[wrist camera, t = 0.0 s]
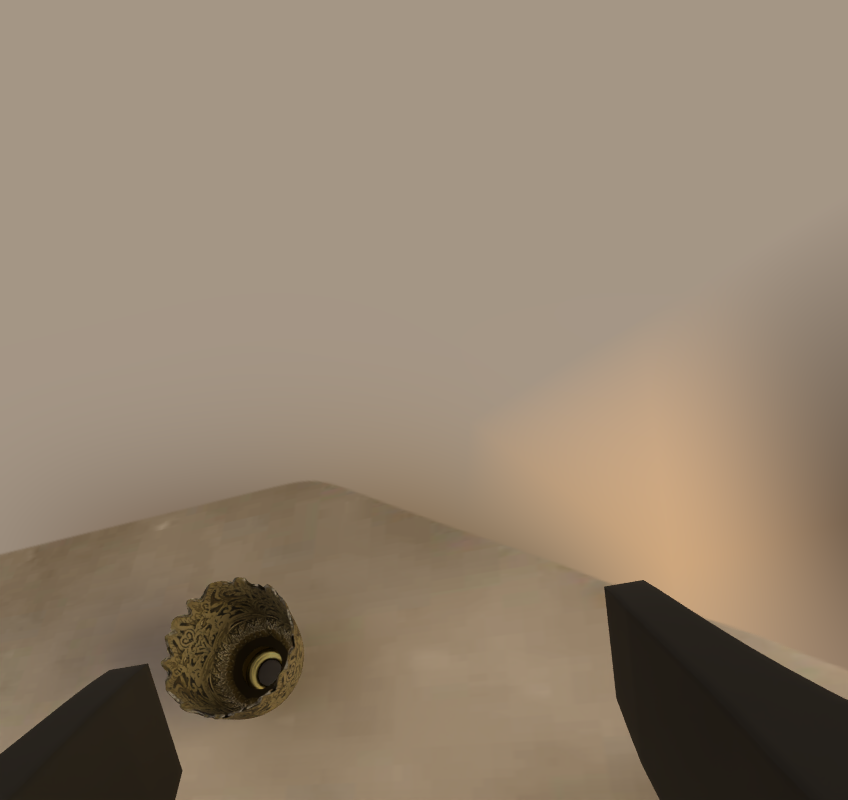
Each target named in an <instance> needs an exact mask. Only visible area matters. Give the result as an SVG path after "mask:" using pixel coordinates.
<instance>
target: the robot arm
mask: <svg viewBox="0 0 848 800" xmlns="http://www.w3.org/2000/svg"><path fill="white" fill-rule="evenodd" d="M604 589H605V598H606V607H607V616H608V625H609V634H610V644H611V653H612V662H613V671H614V680H615V689H616V698H617V701H618V704H619V706H620V709H621V712H622V714H623V717H624V720H625V722H626V725H627V728H628V730H629V733H630V736H631V738H632V741H633V743H634V746H635V748H636V751H637V753H638V756H639V759H640V761H641V764H642V766H643V768H644V770H645V772H646V774H647V776H648V778H649V779H650V781H651V783H652V785H653V787H654V789H655V791H656V793H657V795H658V797H659V799H660V800H848V700H846V699H844V698H842V697H840V696H838V695H836V694H834V693H832V692H830V691H829V690H827V689H825V688H823V687H821V686H819V685H817V684H816V683H814V682H812V681H810V680H808V679H806V678H804V677H802V676H801V675H799V674H797V673H795V672H793V671H791V670H789V669H788V668H786V667H784V666H782V665H780V664H779V663H777V662H775V661H773V660H772V659H770V658H768V657H766V656H765V655H763V654H761V653H759V652H758V651H756V650H754V649H753V648H751V647H749V646H748V645H746V644H744V643H742V642H741V641H739V640H738V639H736V638H734V637H733V636H731V635H729V634H728V633H726V632H724V631H723V630H721V629H720V628H718V627H716V626H715V625H713V624H712V623H710V622H708V621H707V620H705V619H704V618H702V617H701V616H699V615H697V614H696V613H694V612H693V611H691V610H690V609H688V608H687V607H685V606H683V605H682V604H680V603H679V602H677V601H676V600H674V599H673V598H671V597H670V596H668V595H666V594H665V593H663V592H662V591H660V590H659V589H657V588H656V587H654V586H652V585H651V584H649V583H647V582H646V581H644V580H642V581H635V582H630V583H624V584H617V585H611V586H605V587H604ZM181 774H182V768H181V765H180V762H179V759H178V756H177V753H176V749H175V746H174V743H173V740H172V737H171V734H170V731H169V728H168V725H167V721H166V718H165V715H164V712H163V709H162V706H161V703H160V700H159V696H158V693H157V690H156V687H155V684H154V681H153V678H152V675H151V672H150V668H149V665H148V664H143V665H137V666H131V667H125V668H119V669H113V670H109V671H108V672H106V673H105V674H103V675H102V676H100V677H99V678H97V679H96V680H94V681H93V682H92V683H90V684H89V685H87V686H86V687H85V688H83V689H82V690H81V691H79V692H78V693H77V694H75V695H74V696H73V697H72V698H70V699H69V700H68V701H66V702H65V703H64V704H63V705H61V706H60V707H59V708H58V709H56V710H55V711H54V712H52V713H51V714H50V715H49V716H47V717H46V718H45V719H44V720H42V721H41V722H40V723H39V724H37V725H36V726H35V727H34V728H32V729H31V730H30V731H29V732H27V733H26V734H25V735H24V736H22V737H21V738H20V739H19V740H17V741H16V742H15V743H14V744H12V745H11V746H10V747H9V748H7V749H6V750H5V751H4V752H2V753H1V754H0V800H175V798H176V794H177V790H178V786H179V782H180V778H181Z"/></svg>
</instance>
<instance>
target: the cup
mask: <svg viewBox="0 0 848 800" xmlns="http://www.w3.org/2000/svg"><path fill="white" fill-rule="evenodd" d="M186 605H187V609H189V610H188V615H186V614H184V615H179V616H177V617H176V618H175V619H174V620H173V621H172V623H171V628H170V629H171V630H172V632H170V634H168V635H166V636H165V641H166V645H167V652H168V653H169V654H170V656H169V657H167V658H165V659H164V660H163V661H162V662H161V665H162V667H163V668H164V669H165V670H166V671H167V673H168V677H167V679H166V680H165V684H166V691H167V692H168V694H169V695H170V696H171V697H172V698H174V699H175V701H176V702H178V703H179V704H180V707H181V709H183V710H185V711H186V712H189V713H195V714H199V715H202V716H204V717H207V718H214V719H235V720H240V719H249V718H254V717H258V716H261V715H263V714H265V713H267V712H269V711H271V710H273V709H275V708H276V707H277V706H279V705H280V704H281V703H282V702H283V701H284V700H285V699H286V698H287V697H288V696H289V695H290V693H291V692H292V691H293V689H294V687H295V686H296V684H297V682H298V680H299V677H300V674H301V671H302V667H303V660H304V649H303V642H302V638H301V635H300V631H299V629H298V627H297V625H296V622H295V620H294V618H293V616H292V615H291V613H290V611H289V609H288V606H287V604H286V602H285V601H284V600H283V599H282V598H281V597H280V596H279V595H278V593H277V592H276V591H275V590H274V589H273V588H272V587H271V586H270V585H268V584H267V585H266V586H264V587H262V586H261V585H259V584H256V585H255V584H251V583H249V582H248V581H247V580H246V579H245V578H239V577H237V578H235V579H234V580H233V582H228V581H219V582H214V583H211V584H209V585H208V586H207V588H206V589H205V591H204V593H203V595H202V596H201V598H200V599H197V598H194V599H190V600H188V601H187V602H186ZM270 659H274V660H277V661H278V662H279V663H280V664H281V666H282V668H281V672H280V674H279V675H278V678H277V679H276V681H275V682H274V683H273V684H271V685H270V686H265V685H263V684H261V683H260V681H259V679H258V670H259V668H260V666H261V665H262V664H263V663H264V662H265V661H267V660H270Z"/></svg>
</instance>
